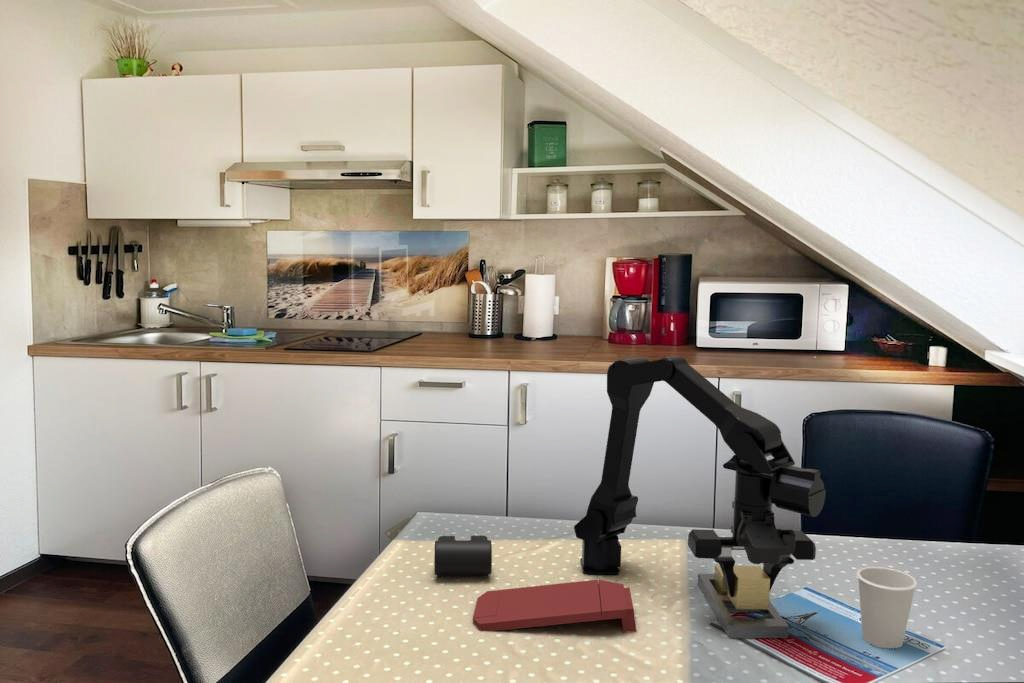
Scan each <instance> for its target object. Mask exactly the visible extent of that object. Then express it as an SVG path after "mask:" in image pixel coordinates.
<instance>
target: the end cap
mask: <svg viewBox="0 0 1024 683" xmlns="http://www.w3.org/2000/svg"><path fill="white" fill-rule="evenodd" d="M492 548H493V546H492V540H490V539H488V537H487V536H486V535H483V534H481V535H475V534H473V535H470V539H467V540H466V539H464V540H461V539H459V540H458V539H457V540H456V535H440V536H438V538H437V540H435V541H434V556H433V557H434V561H433V562H434V564H433V565H434V566H433V568H434V571H433V572H434V576H437V578H489V575H491V574H492V568H493V567H492V565H493V564H492V563H493V562H492V561H493V560H492V559H493V550H492Z"/></svg>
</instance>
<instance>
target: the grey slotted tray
mask: <svg viewBox="0 0 1024 683" xmlns="http://www.w3.org/2000/svg"><path fill="white" fill-rule="evenodd" d="M714 575H715V573H697V586H698V588H699V587H700V588H699V590H700V591H701V592H702V594H704V595H703V596H704V598H705V599H706V601H707V603H708V605H709V607H710V606H711V607H710V608H711V610H712V611H713V613H714V615H715V616H716V619H717V620H718V622H719V624H720V626H721V627H722V629H723V630H724V632H725V634H726V635H727V638H728V639H756V638H757V640H759V639H760V638H764V639H765V638H789V625H788V623H787V622H786V621H785V620H784V618H783V617H782V616H781V614H780V612H778V611H777V609H776V608H775V607H774V605H773V604H772V602H771V601H770V600H769V608H768V609H736V608H735V606H734V605H733V603H732V601H731V600H730V598H729V597H728V595H718V593H717V592H716V590H715V589H714ZM754 612H755V613H756V612H757V613H758V612H759V613H760V612H761V614H762V616H763V618H737V617H736V618H735V617H734V618H733V615H732V614H731V613H754ZM759 613H758V614H759ZM758 638H759V639H758Z"/></svg>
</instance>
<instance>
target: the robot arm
mask: <svg viewBox="0 0 1024 683" xmlns="http://www.w3.org/2000/svg"><path fill="white" fill-rule="evenodd" d="M656 382H665V383H666V384H668V385H669V386H670V387H671V388H672V389H674V391H676V392H677V393H678V394H679V395H681V397H683V398H684V399H685V400H686V401H687V402H688V403H690V404H691V405H692V406H693V407H694V408H695V409H696V410H698V411H699V412H700V413H701V414H703V416H705V417H706V418H707V419H708V420H709V421H710V422H712V423H713V424H714V425H715V427H716V428H717V429H718V431H719V432H720V435H721V437H722V439H723V441H724V443H725V444H726V445H727V447H728V448H729V449H730V450H731V451H732V452H733V456H732V457H731V458H730V459H729V460H727V461H726V462H725V463H723V464H722V467H723V469H726V470H730V471H734V472H735V483H734V498H733V500H734V501H732V504H731V505H732V506H731V508H732V509H733V520H732V525H730V533H731V534H732V536H719V535H718V534H717V533H716V532H715V530H714V529H692V530H690V531H689V533H688V535H687V546H688V548H689V549H690V551H691V553H692V554H693V556H694V558H698V559H713V561H714V562H715V563H716V564H718V565H720V567H721V570H722V573H723V576H724V580H725V583H726V586H727V589H728V592H729V595H730V597H733V595H734V570H733V567H734V565H736V560H735V559H734V558H733V556H732V551H734V550H735V551H745V554H746V557H747V560H748V562H750V563H751V564H754V565H760V564H763V567H762V569H763V570H764V572H765V573H766V574H767V575H768V577H769V578H770V591H769V593H770V592H771V590H772V587H773V586H774V583H775V581H776V579H777V577H778V576H779V574H780V572H781V570H782V569H783V568H784V567H786V566H788V565H793V564H794V563H795V560H798V561H799V560H801V561H802V560H803V561H804V560H805V561H806V560H808V561H813V560H815V559H816V555H817V552H816V551H817V547H816V544H815V542H814V541H813V540H812V539H811V538H810V537H808V535H807V534H806V533H805V532H804V531H803V530H793V529H782V528H776V524H775V513H774V512H773V505H775V507H776V508H777V509H781V510H784V511H789V512H793V513H797V514H802V515H805V516H808V517H812V518H813V517H814V518H815V517H818V516H819V514H820V513H821V511H822V510H823V507H824V505H825V501H826V493H827V492H826V491H827V489H825V485H824V481H823V480H822V479H821V471H820V470H819V469H813V468H803V467H799V466H796V465H795V464H796V462H795V460H794V458H793V456H792V455H791V453H790V452H789V450H788V448H787V446H786V445H785V443H784V441H783V440H782V431H781V429H780V427H779V426H778V425H777V424H776V423H775V422H773V421H771V420H770V419H768V418H766V417H764V416H763V415H761V414H759V413H757V412H755V411H752V410H751V409H750V410H749V409H747V408H744V407H742V406H740V405H739V404H737V403H736V402H734V401H733V400H732V399H731V398H730V397H728V396H727V395H726V394H725V393H724V392H723V391H721V390H720V389H719V388H717V386H715V385H714V384H713V383H712V382H710V380H708V379H707V378H706V377H704V375H702V374H701V373H700V372H698V371H697V370H696V369H695V368H694V367H692V366H691V365H690V364H689V362H688V361H687V360H686V358H684V357H682V356H680V355H673V356H667V357H661V358H660V359H657V360H651V361H650V360H648V358H644V357H640V356H639V357H633V358H625V359H620V360H619V359H618V360H615V361H614V362H612V363H611V364H610V365H609V366H608V368H607V372H606V392H607V395H608V399H609V401H610V404H611V413H610V421H609V426H608V433H607V441H606V448H605V452H604V453H605V455H604V460H603V468H602V473H601V480H600V484H599V485H598V486H597V487H596V489H595V490H594V492H593V494H592V495H591V498H590V500H589V502H588V506H587V509H586V514H585V516H583V517H582V518H581V520H579V521H578V522H577V523H576V524H575V525H574V526H573V528H574V533H575V538H577V539H580V540H581V541H582V544H581V545H582V546H581V558H580V559H579V560H580V566H581V567H582V568H581V569H582V573H583V574H586V575H619V574H620V570H619V568H621V565H622V564H621V563H622V544H621V542H620V541H619V535H621V534H624V533H625V532H626V529H627V526H629V525H630V524H631V523H632V522H633V519H634V518H636V517H637V512H636V511H637V505H638V503H639V497H638V496H636V495H633V494H632V492H631V489H630V486H629V485H630V484H629V483H630V482H629V481H630V476H631V470H632V464H633V457H634V451H635V445H636V438H637V432H638V426H639V419H640V413H641V410H642V408H643V407H644V405H645V403H646V402H647V400H648V399H649V397H650V395H651V393H652V391H653V390H652V389H653V388H654V384H655V383H656ZM770 456H771V457H773V458H770V459H769V460H768V459H767V458H768V457H770ZM792 556H793V557H794V559H795V560H794V559H793V557H792Z"/></svg>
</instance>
